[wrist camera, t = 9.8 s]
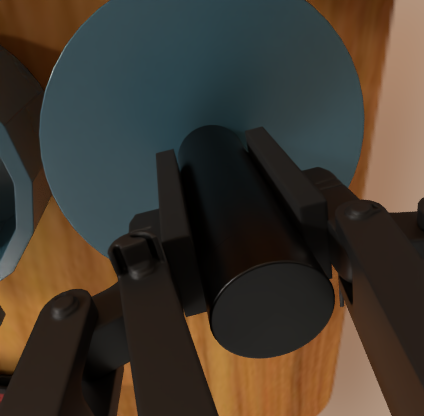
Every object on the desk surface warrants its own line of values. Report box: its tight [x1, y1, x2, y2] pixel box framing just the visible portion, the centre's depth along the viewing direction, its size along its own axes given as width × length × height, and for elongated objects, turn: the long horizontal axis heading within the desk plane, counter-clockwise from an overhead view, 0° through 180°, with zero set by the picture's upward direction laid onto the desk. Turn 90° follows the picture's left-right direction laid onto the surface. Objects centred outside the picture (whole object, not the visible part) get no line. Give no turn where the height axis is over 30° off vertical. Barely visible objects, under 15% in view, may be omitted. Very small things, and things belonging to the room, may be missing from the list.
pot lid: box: [39, 0, 364, 358], centre depth 14 cm, size 15×15×11 cm
